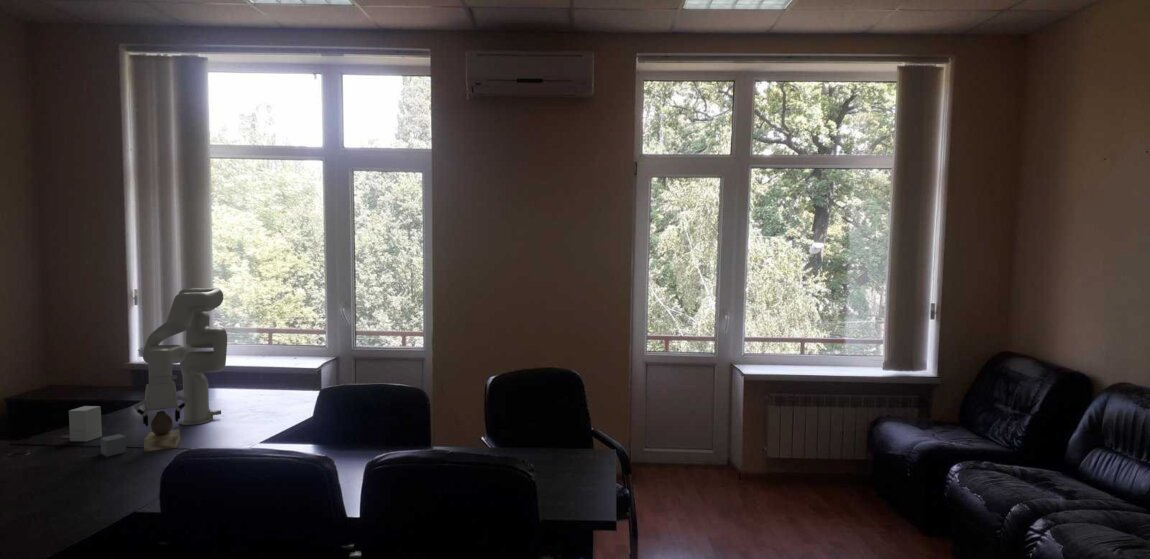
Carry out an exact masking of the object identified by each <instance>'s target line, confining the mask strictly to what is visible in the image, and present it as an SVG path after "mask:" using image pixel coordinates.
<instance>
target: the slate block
mask: <svg viewBox="0 0 1150 559" xmlns="http://www.w3.org/2000/svg"><path fill="white" fill-rule="evenodd" d="M126 440H127V438H126V436H125V435H124V434H121V433H118V434H114V435H109V436H104V437H100V454H101V455H103V456H105V457H111V456H115V455H119V454H124V453H127V442H126Z"/></svg>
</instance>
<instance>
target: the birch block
mask: <svg viewBox="0 0 1150 559" xmlns="http://www.w3.org/2000/svg"><path fill="white" fill-rule="evenodd" d="M180 430H181V429H180V428H178V429H176V428H175V429H171V431H170V432H169V433H167V434H164V435H156V434H154V433H153V432H152V431H151V432H148V434H147V435H146V436H145V437H144V439H143V452H145V453H146V452H152V451H159V450H160V451H161V450H168V449H176V448H177V446H178V445H179V443H180V441H181V432H180Z"/></svg>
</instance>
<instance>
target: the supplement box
mask: <svg viewBox="0 0 1150 559" xmlns="http://www.w3.org/2000/svg"><path fill="white" fill-rule="evenodd" d="M68 421H69V422H68V423H69V424H68V425H69V441H70V442H90V441H93V440H95V439H98V438H102V436H103V432H102V431H103V430H102V410H101V406H100V405H99V406H98V405H93V406H92V405H83V406H80V407H77V408H74V409H73V408H72V409H70V410H68Z"/></svg>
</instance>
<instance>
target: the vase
mask: <svg viewBox="0 0 1150 559" xmlns="http://www.w3.org/2000/svg"><path fill="white" fill-rule="evenodd" d="M150 429H151V432H153V433H154V434H156V435H164V434H167V433H169V432H170V431H171V430H173V420H172V418H171V416H170V415H169V414H168V413H166V411H164V410H160V411H157V412H156V414H155V415H154V417H153V418H152V420H151V423H150Z"/></svg>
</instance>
